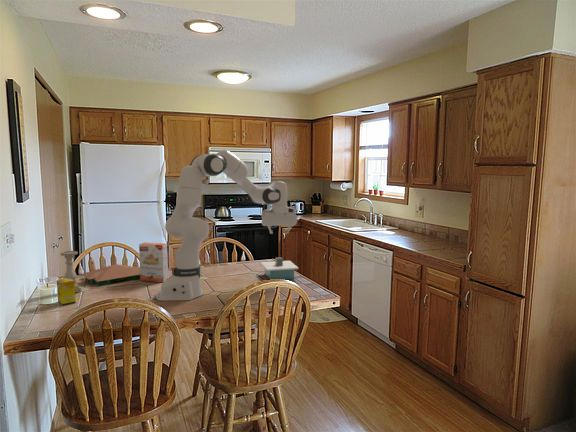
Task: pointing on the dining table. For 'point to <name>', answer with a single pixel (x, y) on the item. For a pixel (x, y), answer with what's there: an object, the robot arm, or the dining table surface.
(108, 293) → the dining table surface
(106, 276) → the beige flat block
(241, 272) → the dining table surface
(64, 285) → the supplement box
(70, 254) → the candle holder
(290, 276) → the teal open box
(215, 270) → the dining table surface
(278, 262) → the lid
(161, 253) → the cracker box
